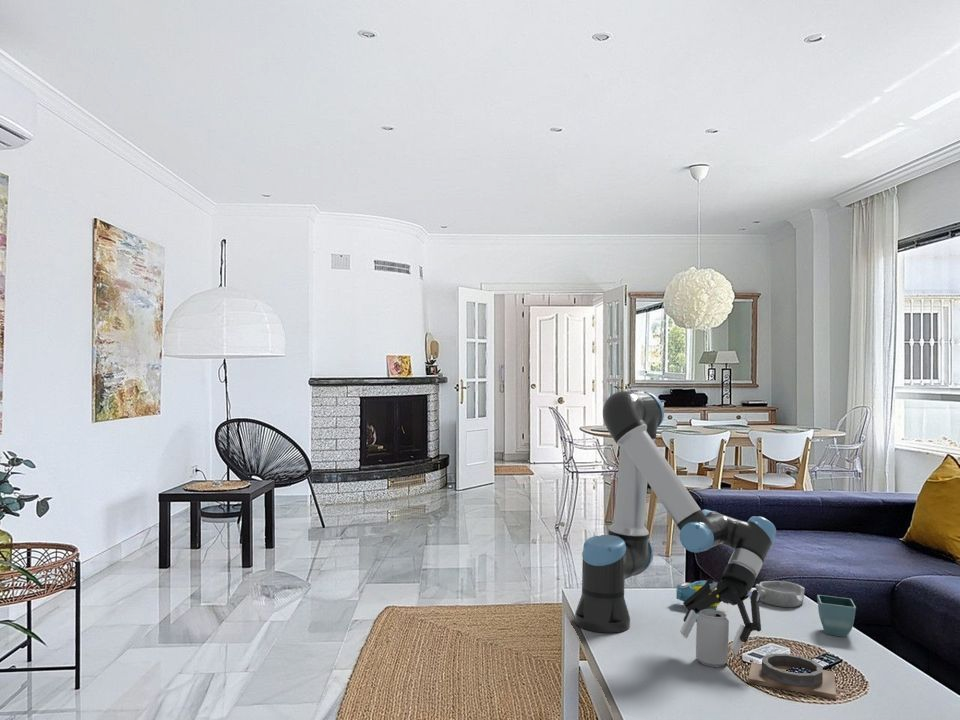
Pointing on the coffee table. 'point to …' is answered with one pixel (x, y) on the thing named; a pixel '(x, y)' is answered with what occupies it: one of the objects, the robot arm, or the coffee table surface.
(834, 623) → the flower pot
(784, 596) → the dish
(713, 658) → the can
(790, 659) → the can holder
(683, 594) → the blue yellow plastic figure
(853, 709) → the coffee table surface
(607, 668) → the coffee table surface
